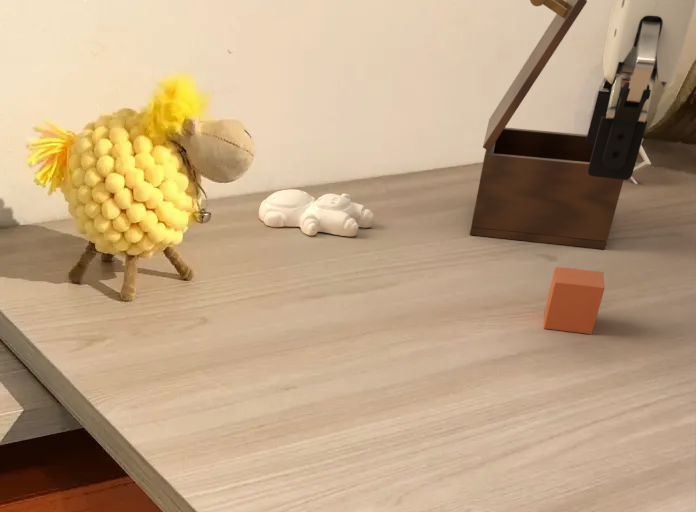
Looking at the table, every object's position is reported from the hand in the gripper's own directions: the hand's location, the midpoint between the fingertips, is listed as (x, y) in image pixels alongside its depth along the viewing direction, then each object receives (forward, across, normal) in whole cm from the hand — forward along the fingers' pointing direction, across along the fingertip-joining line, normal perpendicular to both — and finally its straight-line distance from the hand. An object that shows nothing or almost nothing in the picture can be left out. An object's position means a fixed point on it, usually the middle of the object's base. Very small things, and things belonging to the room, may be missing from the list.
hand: (606, 161), depth 82 cm
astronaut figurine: (+13, +19, +26) cm, 35 cm away
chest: (+13, +27, +3) cm, 30 cm away
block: (+13, -1, 0) cm, 13 cm away
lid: (-2, +27, +6) cm, 28 cm away
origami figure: (+13, +51, -6) cm, 53 cm away
